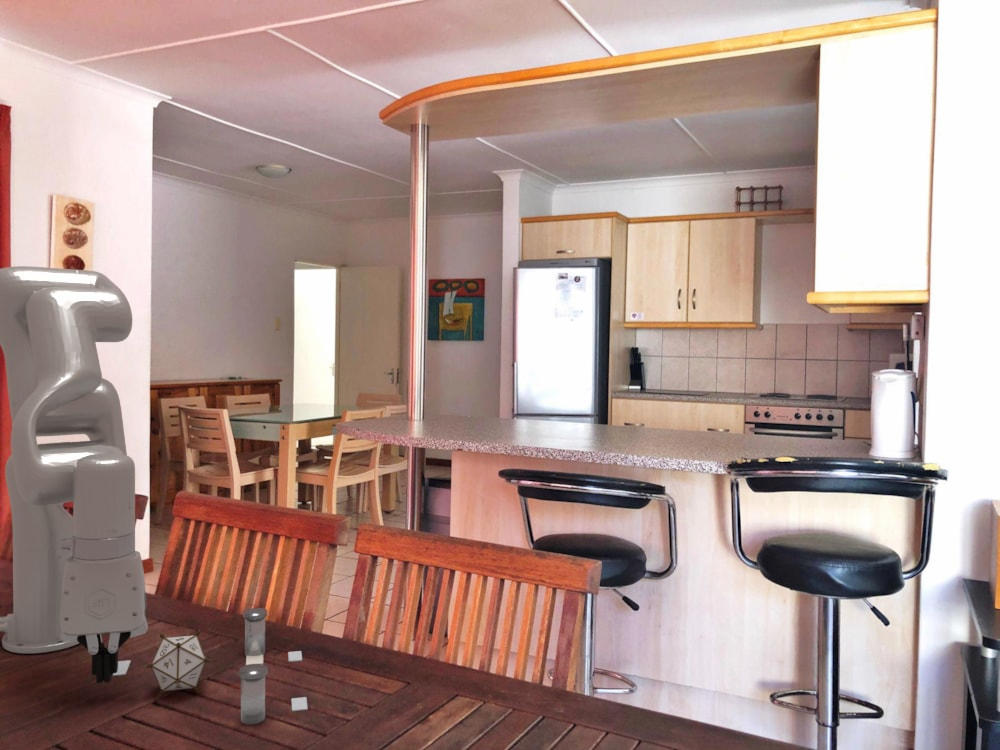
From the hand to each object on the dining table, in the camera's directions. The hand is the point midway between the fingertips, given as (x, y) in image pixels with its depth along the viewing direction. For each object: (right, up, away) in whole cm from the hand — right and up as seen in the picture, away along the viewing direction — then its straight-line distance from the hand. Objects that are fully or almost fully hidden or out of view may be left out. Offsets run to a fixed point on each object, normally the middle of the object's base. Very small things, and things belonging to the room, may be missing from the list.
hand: (105, 678), depth 110 cm
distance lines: (+12, -3, +5) cm, 13 cm away
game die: (+9, -3, +3) cm, 10 cm away
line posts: (+19, -3, +6) cm, 20 cm away
